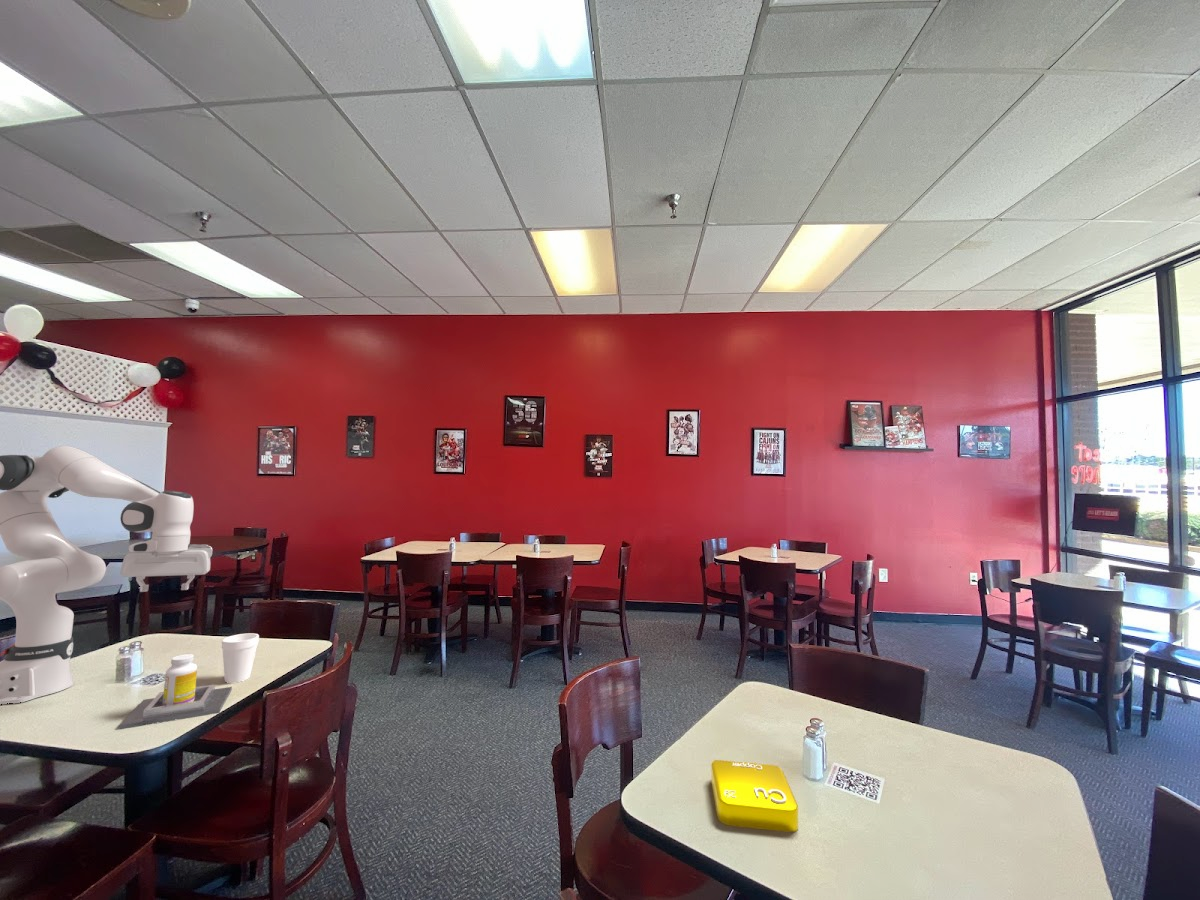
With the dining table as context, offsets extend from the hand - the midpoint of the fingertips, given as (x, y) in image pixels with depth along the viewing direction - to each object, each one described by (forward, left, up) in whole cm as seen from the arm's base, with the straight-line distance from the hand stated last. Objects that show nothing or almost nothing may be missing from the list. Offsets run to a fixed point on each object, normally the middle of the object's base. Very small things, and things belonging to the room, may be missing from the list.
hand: (164, 590), depth 142 cm
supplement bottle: (+9, -16, -29) cm, 34 cm away
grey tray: (+10, -16, -30) cm, 35 cm away
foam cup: (+20, +1, -30) cm, 36 cm away
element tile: (+122, -118, -30) cm, 173 cm away
